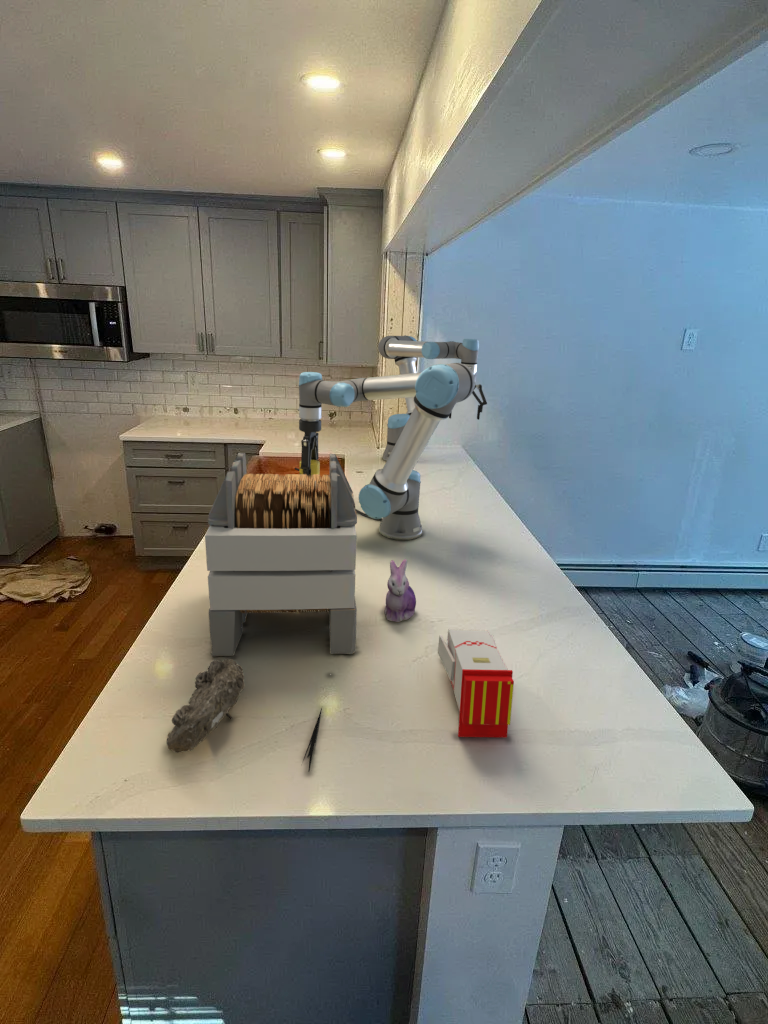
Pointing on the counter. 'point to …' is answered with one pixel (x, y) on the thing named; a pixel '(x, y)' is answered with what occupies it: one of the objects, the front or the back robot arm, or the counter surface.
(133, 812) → the counter surface
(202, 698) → the fossil
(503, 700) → the toy
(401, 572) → the figurine
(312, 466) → the cylinder
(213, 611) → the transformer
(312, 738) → the feather
